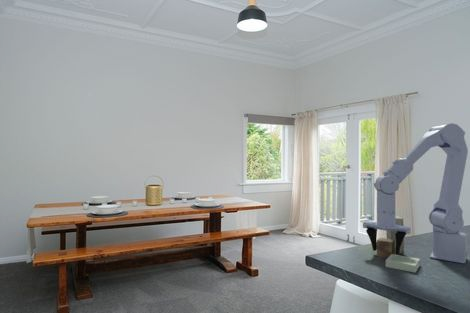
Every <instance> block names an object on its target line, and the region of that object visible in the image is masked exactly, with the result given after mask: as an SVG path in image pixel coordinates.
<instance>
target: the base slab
mask: <svg viewBox="0 0 470 313" xmlns="http://www.w3.org/2000/svg"><path fill="white" fill-rule="evenodd" d="M420 266H421V259H420V258H418V257H410V256H405V255H399V254H398V255H396V254H395V255H394V254H391V255H390V256H389V257H388V258H385V267H386V268H389V269H395V270H399V271H405V272H409V273H410V272H411V273H417V271H418V269H419V268H420Z"/></svg>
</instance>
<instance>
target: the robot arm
mask: <svg viewBox="0 0 470 313" xmlns="http://www.w3.org/2000/svg"><path fill="white" fill-rule="evenodd" d="M465 135H466V131H465V130H464V129H463V128H462V127H460V126H459V125H458V124H457V123H452V122H451V123H447V124H441V125H434V126H432V127H431V128H430V129H429V130H428V131H426V132H425V133H423V135H422V137H421V138H420V139H419V140H418V141H417V143H416V144H415V145H414V146H413V147H412V149H410V151H408V153H407V154H406V156H404V157H403V158H398V159H394V160H393V161H392V165H391V166H390V167H389V168H388V169H386V170H385V171H383V172H382V174H383V175H380V176H378V177H377V178H376V179H375V182H374V183H373V186H374V189H375V190H376V221H362V228H363V229H366V230H365V231H366V233H367V234H366V235H367V236H368V238H369V241H370V242H371V246H372V251H374V252H375V251H377V240H378V239H377V236H378V230H380V231H386V230H387V231H394V232H397V233H396V234H395V237H396V253H395V255H399V254H400V253H399V251H400V247H401V244H402V241H403V239H405V237H406V235H410V234H411V232H412V231H411V229H412V227H411V226H407V225H403V226H401V225H396V224H395V216H396V192H397V191H399V188H400V184H401V183H402V182H403V181H404V180H405V179H406V178H407V177H408V176H409V175H410V174H411V173H412V172H413V170H414V165H415V163H416V162H418V160H419V159H420V158H422V157H423V156H424V155H425V154H426V153H427V152H428V151H430V150H431V148H434V147H439V149H441V150H442V151H443V152H444V153H445V154H446V160H445V165H444V170H443V176H442V182H441V188H440V192H439V197H438V200H437V201H436V202H435V203H434V204H433V208H432V210H431V211H430V213H429V215H428V220H429V223H430V224H431V225H432V252H431V253H430V256H429V258H430V259H437V260H440V261H441V260H442V261H447V262H454V263H460V264H466V262H467V257H468V250H467V233H465V232H460V231H461V230H463V228H464V223H465V221H464V219H463V212H464V211H463V208H462V207H461V206H460V204H459V201H460V196H461V192H462V185H463V180H464V175H465V168H466V164H467V159H468V151H469V150H468V146H467V143H466V140H465Z"/></svg>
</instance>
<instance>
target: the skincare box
mask: <svg viewBox="0 0 470 313" xmlns="http://www.w3.org/2000/svg"><path fill="white" fill-rule="evenodd" d="M395 224H396V225H401V226H404V218H403V217H401V216H399V215H395ZM385 231H386V233H385V234H386V239H393V240H395V254H396V237H395V234H396V233H397V232H394V231H387V230H385ZM404 239H405V238H404ZM404 239H403V241H402V244H401V247H400V251H399V254H404V253H405V244H404V242H405V241H404Z"/></svg>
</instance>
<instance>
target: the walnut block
mask: <svg viewBox="0 0 470 313" xmlns="http://www.w3.org/2000/svg"><path fill="white" fill-rule="evenodd" d="M391 254H394V255H396V253H395V240H393V239H387V237H380V238H378V239H377V250H376V257H378V258H383V259H387V258H388V257H389V256H390V255H391Z"/></svg>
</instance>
